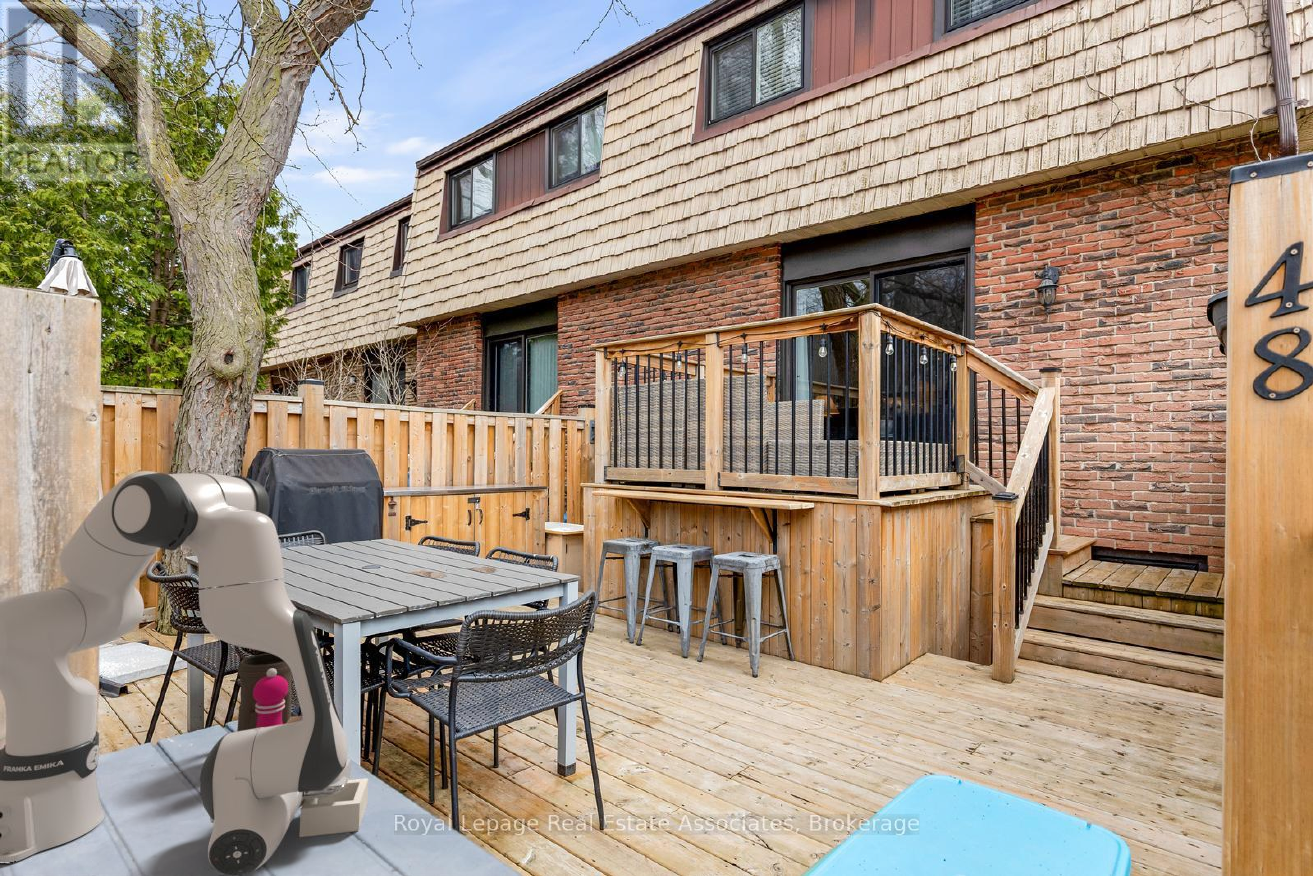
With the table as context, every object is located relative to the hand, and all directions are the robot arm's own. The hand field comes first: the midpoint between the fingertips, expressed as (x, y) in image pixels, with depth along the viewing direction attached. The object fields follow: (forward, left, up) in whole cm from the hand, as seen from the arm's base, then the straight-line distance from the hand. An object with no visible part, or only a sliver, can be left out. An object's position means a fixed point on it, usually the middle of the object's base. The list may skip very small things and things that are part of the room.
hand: (295, 758), depth 120 cm
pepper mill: (-8, +14, -8) cm, 18 cm away
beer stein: (-12, +25, -8) cm, 29 cm away
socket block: (+8, -7, -8) cm, 13 cm away
